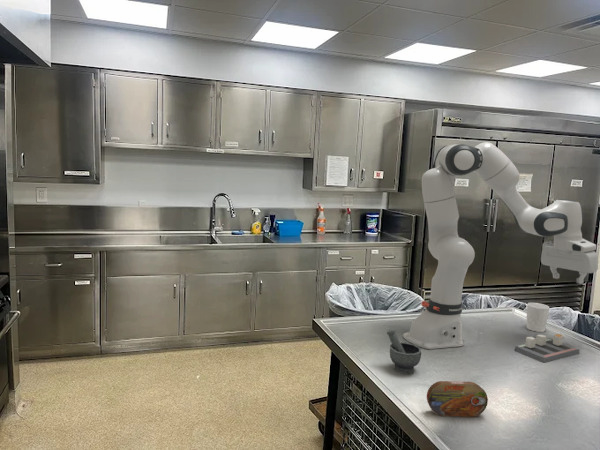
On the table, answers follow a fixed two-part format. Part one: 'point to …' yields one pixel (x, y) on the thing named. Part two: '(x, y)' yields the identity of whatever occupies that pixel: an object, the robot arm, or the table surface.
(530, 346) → the block
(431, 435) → the table surface
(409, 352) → the mortar and pestle
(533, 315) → the white cup
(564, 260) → the robot arm
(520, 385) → the table surface
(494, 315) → the table surface
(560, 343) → the block
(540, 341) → the block
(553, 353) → the panel
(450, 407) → the tin
